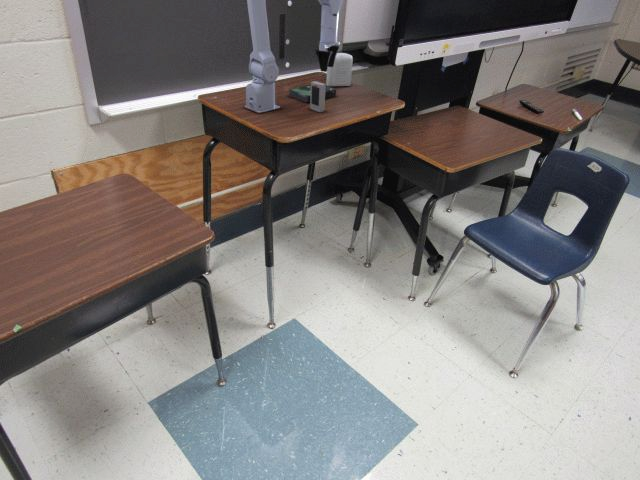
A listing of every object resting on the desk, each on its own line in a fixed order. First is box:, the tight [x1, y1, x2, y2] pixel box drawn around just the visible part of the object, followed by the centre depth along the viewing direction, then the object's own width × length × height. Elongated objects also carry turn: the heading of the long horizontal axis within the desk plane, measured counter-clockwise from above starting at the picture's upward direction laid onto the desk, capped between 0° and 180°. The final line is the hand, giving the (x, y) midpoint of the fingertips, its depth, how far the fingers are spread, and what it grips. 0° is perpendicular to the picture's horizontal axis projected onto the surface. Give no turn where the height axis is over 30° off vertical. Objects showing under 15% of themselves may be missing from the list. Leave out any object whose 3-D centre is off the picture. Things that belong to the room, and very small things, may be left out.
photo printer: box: [325, 52, 354, 87], centre depth 179 cm, size 10×4×12 cm, turn 109°
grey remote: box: [309, 80, 327, 113], centre depth 152 cm, size 2×5×9 cm, turn 45°
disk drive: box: [288, 84, 337, 103], centre depth 167 cm, size 10×3×15 cm
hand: (326, 69), depth 162 cm, fingers open, 7 cm apart
